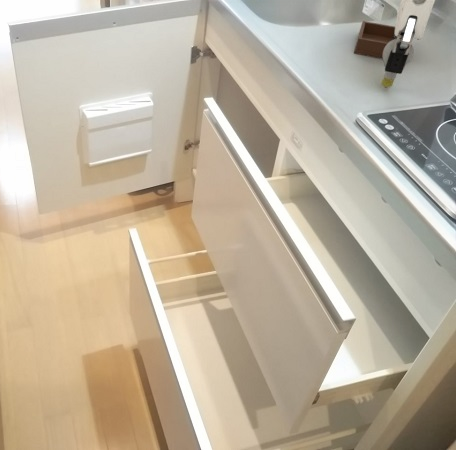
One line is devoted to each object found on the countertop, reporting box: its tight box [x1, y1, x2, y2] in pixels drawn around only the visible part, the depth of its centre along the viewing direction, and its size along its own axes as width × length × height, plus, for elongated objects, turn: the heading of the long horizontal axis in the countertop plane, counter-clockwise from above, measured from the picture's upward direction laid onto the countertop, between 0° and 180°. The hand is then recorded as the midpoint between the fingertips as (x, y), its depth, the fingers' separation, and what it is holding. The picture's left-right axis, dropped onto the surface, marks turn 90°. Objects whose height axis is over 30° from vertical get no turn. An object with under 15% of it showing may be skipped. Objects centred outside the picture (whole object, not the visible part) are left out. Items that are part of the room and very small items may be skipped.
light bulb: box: [380, 39, 414, 89], centre depth 103 cm, size 6×6×10 cm
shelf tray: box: [353, 20, 395, 60], centre depth 120 cm, size 10×11×4 cm
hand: (393, 64), depth 103 cm, fingers closed on light bulb, 5 cm apart
